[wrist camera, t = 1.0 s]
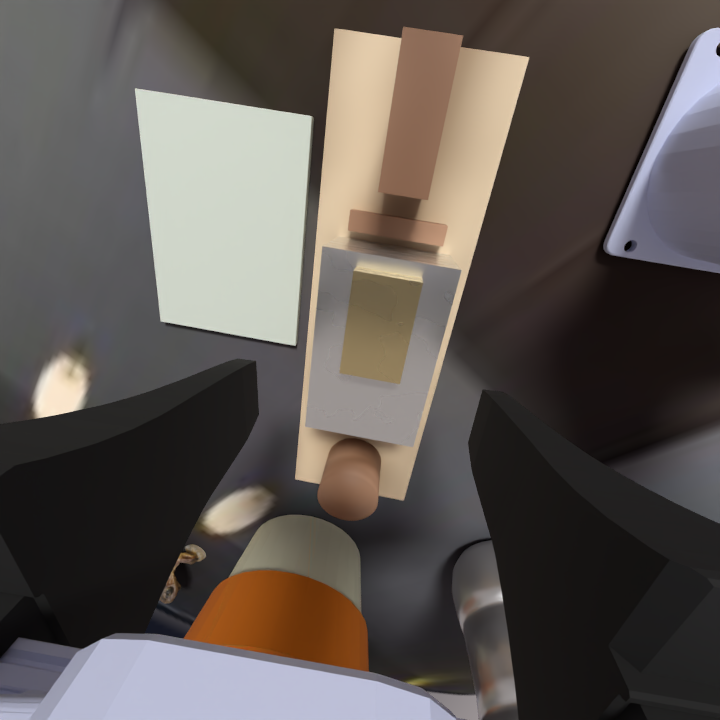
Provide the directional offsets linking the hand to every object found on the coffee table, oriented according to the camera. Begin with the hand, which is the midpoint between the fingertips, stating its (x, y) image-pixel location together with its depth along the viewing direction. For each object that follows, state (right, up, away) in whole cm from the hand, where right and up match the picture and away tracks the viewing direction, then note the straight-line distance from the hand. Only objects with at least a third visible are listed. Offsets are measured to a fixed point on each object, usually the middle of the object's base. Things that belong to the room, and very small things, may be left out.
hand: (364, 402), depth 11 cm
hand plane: (+1, +4, +8) cm, 9 cm away
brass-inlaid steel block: (+1, +3, +6) cm, 7 cm away
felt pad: (-7, +8, +7) cm, 13 cm away
